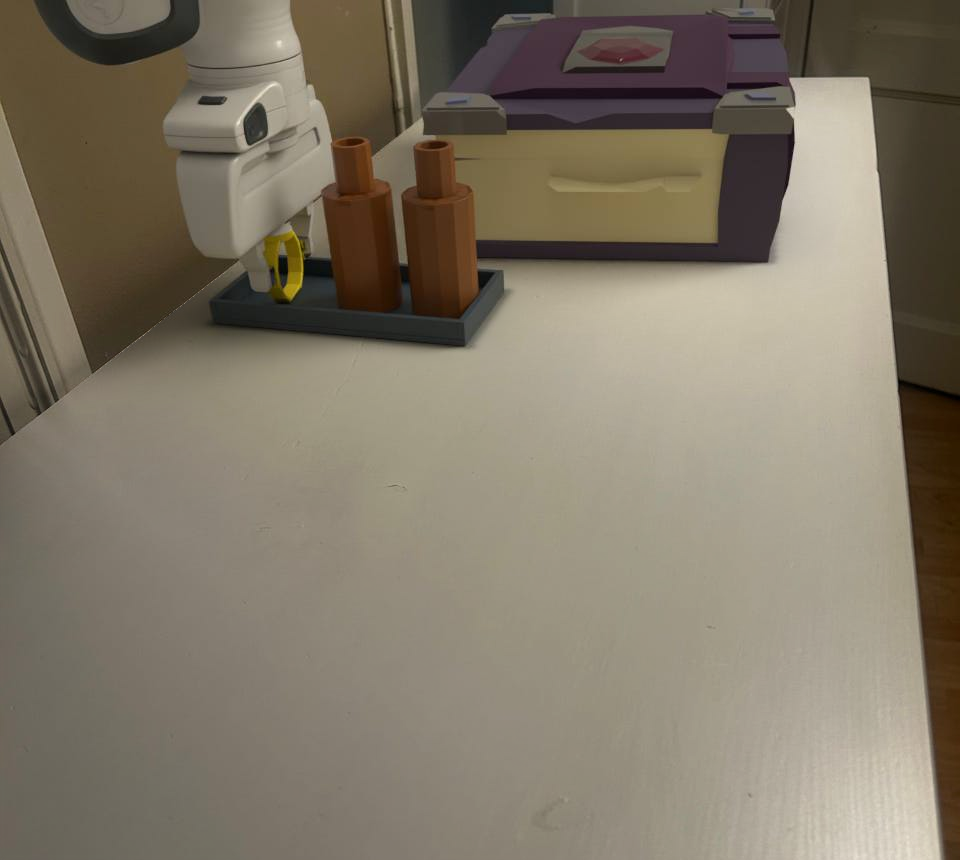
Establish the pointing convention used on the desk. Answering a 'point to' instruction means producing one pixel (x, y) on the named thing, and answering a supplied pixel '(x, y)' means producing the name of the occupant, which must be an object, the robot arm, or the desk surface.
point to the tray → (322, 313)
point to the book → (624, 136)
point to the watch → (294, 262)
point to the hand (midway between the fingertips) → (283, 272)
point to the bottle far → (439, 234)
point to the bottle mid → (361, 231)
